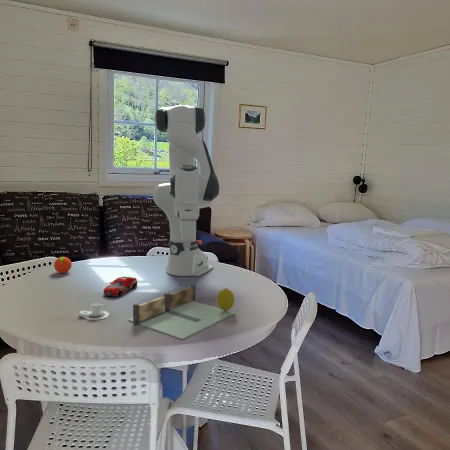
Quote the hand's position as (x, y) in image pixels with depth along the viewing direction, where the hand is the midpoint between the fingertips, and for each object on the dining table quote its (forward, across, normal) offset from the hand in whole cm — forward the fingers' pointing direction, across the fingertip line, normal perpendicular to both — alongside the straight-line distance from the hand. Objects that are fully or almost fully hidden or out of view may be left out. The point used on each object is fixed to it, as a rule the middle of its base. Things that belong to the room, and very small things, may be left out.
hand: (186, 249), depth 156 cm
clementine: (+17, -33, -49) cm, 62 cm away
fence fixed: (+17, +21, -12) cm, 29 cm away
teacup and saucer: (+18, +14, -31) cm, 39 cm away
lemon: (+17, +18, +12) cm, 28 cm away
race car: (+18, -8, -24) cm, 30 cm away
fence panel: (+17, +10, -2) cm, 20 cm away
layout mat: (+18, +21, -2) cm, 27 cm away
